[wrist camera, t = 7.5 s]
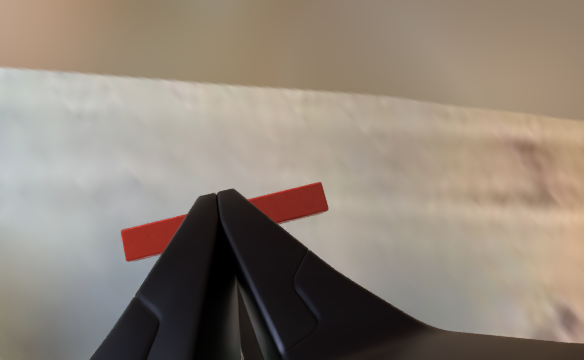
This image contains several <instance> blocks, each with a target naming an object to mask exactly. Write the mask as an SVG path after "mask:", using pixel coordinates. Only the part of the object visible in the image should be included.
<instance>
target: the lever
mask: <svg viewBox="0 0 584 360" xmlns="http://www.w3.org/2000/svg"><path fill="white" fill-rule="evenodd" d="M247 200H248V201H250V202H251V203H252V204H253V205H255V206H256V207H257V208H258V209H260V210H261V211H262V212H263V213H265V214H266V215H267V216H268V217H270V218H271V219H272V220H273V221H275V222H276V223H277V224H282V223H286V222H290V221H294V220H298V219H302V218H305V217H309V216H313V215H317V214H321V213H324V212H326V211H328V205H327V201H326V198H325V194H324V190H323V187H322V183H321V182H318V183H313V184H309V185H305V186H301V187H297V188H293V189H289V190H285V191H280V192H276V193H272V194H268V195H264V196H260V197H256V198H251V199H247ZM186 216H187V214H185V215H181V216H177V217H173V218H169V219H165V220H161V221H156V222H152V223H148V224H144V225H140V226H136V227H132V228H128V229H123V230H121V236H122V241H123V246H124V252H125V257H126V261H128V262H129V261H138V260H141V259H145V258H149V257H153V256H157V255H161V254H162V253H163V251H164V250H165V248H166V247H167V245H168V243H169V242H170V240H171V239H172V237H173V236H174V234H175V233H176V231H177V229H178V228H179V226H180V225H181V223H182V222H183V220H184V219H185V217H186ZM235 277H236V275H235ZM236 285H237V298H238V314H239V330H240V346H241V358H242V360H265V359H264V357H263V354H262V351H261V348H260V345H259V342H258V340H257V337H256V334H255V331H254V328H253V325H252V323H251V320H250V317H249V314H248V311H247V308H246V306H245V303H244V300H243V297H242V294H241V292H240V289H239V285H238V282H237V279H236Z"/></svg>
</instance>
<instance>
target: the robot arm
mask: <svg viewBox="0 0 584 360" xmlns="http://www.w3.org/2000/svg"><path fill="white" fill-rule="evenodd" d="M235 275H236V277H235ZM236 279H237V282H238V285H239V289H240V292H241V294H242V297H243V300H244V303H245V306H246V308H247V311H248V314H249V317H250V320H251V323H252V325H253V328H254V331H255V334H256V337H257V340H258V342H259V345H260V348H261V351H262V354H263V357H264V359H265V360H584V344H581V343H565V342H555V341H544V340H534V339H524V338H514V337H503V336H493V335H483V334H473V333H462V332H453V331H446V330H442V329H438V328H435V327H432V326H430V325H427V324H425V323H423V322H421V321H418V320H417V319H415V318H413V317H411V316H409V315H408V314H406V313H404V312H403V311H401V310H399V309H398V308H396V307H394V306H393V305H391V304H390V303H388V302H386V301H385V300H383V299H381V298H380V297H378V296H376V295H375V294H373V293H371V292H370V291H368V290H366V289H365V288H363V287H362V286H360V285H358V284H357V283H355V282H354V281H352V280H350V279H349V278H347V277H346V276H344V275H343V274H341V273H340V272H338V271H337V270H335V269H334V268H332V267H331V266H330V265H328V264H327V263H326V262H324V261H323V260H322V259H320V258H319V257H318V256H317V255H316V254H314V253H313V252H312V251H311V250H308V248H307V247H305V246H304V245H303V244H302V243H301V242H299V241H298V240H297V239H296V238H294V237H293V236H292V235H291V234H289V233H288V232H287V231H286V230H284V229H283V228H282V227H281V226H279V225H278V224H277V223H276V222H275V221H273V220H272V219H271V218H270V217H268V216H267V215H266V214H265V213H263V212H262V211H261V210H260V209H258V208H257V207H256V206H255V205H253V204H252V203H251V202H250V201H248V200H247V199H246V198H245V197H244V196H242V195H241V194H240V193H239V192H237V191H236V190H235V189H228V190H224V191H220V192H218V193H217V195H216V194H215V193H211V194H207V195H203V196H200V197H198V199H197V200H196V202H195V203H194V205H193V206H192V208H191V209H190V211H189V212H188V214H187V216H186V217H185V219H184V220H183V222H182V223H181V225H180V226H179V228H178V229H177V231H176V233H175V234H174V236H173V237H172V239H171V240H170V242H169V243H168V245H167V247H166V248H165V250H164V251H163V253H162V254H161V256H160V257H159V259H158V260H157V262H156V264H155V265H154V267H153V268H152V270H151V271H150V273H149V274H148V276H147V277H146V279H145V281H144V282H143V284H142V285H141V287H140V288H139V290H138V291H137V293H136V295H135V297H134V298H133V299H132V300H131V302H130V304H129V305H128V307H127V308H126V310H125V311H124V313H123V314H122V316H121V317H120V319H119V320H118V321H117V323H116V324H115V326H114V327H113V329H112V330H111V332H110V333H109V335H108V336H107V337H106V339H105V340H104V341H103V343H102V344H101V345H100V347H99V348H98V349H97V350H96V352H95V353H94V354H93V356H92V357H91V358H90V360H241V346H240V330H239V314H238V298H237V285H236Z"/></svg>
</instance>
